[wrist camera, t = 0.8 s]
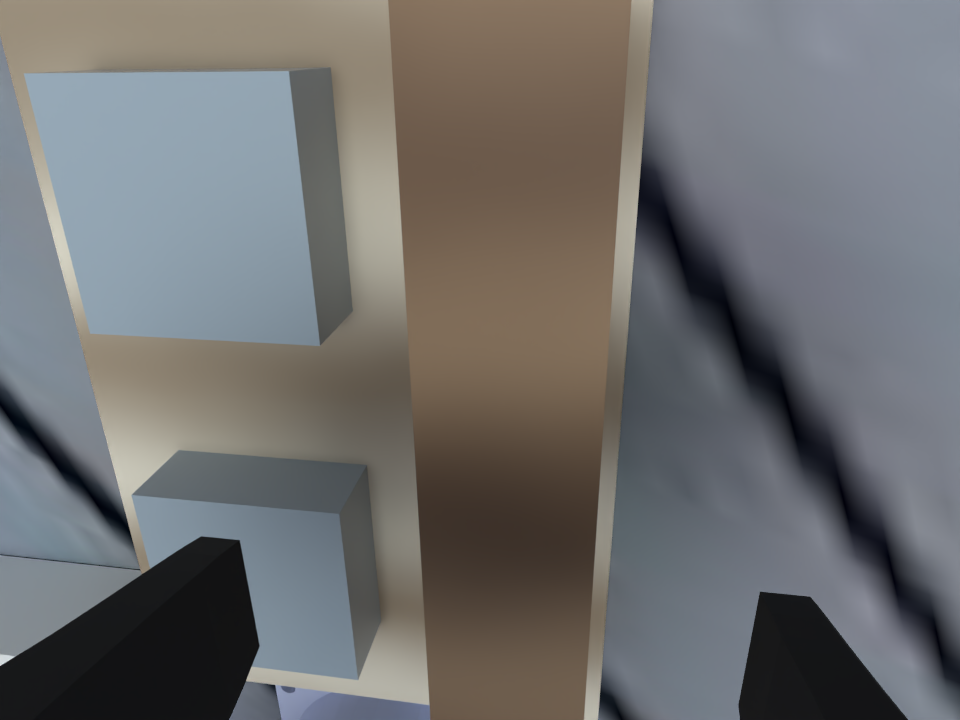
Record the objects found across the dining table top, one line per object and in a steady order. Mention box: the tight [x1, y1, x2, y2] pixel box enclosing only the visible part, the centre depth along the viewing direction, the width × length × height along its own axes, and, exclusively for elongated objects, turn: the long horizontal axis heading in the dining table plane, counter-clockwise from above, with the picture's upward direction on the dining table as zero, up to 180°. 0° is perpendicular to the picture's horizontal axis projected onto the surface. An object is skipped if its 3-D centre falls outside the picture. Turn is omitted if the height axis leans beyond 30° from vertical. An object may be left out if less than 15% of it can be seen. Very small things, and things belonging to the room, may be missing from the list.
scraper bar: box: [388, 0, 632, 720], centre depth 14 cm, size 16×3×4 cm, turn 1°
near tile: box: [24, 67, 353, 346], centre depth 14 cm, size 5×5×2 cm
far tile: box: [131, 450, 381, 680], centre depth 18 cm, size 5×5×2 cm
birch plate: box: [0, 0, 654, 720], centre depth 18 cm, size 20×13×3 cm, turn 1°
